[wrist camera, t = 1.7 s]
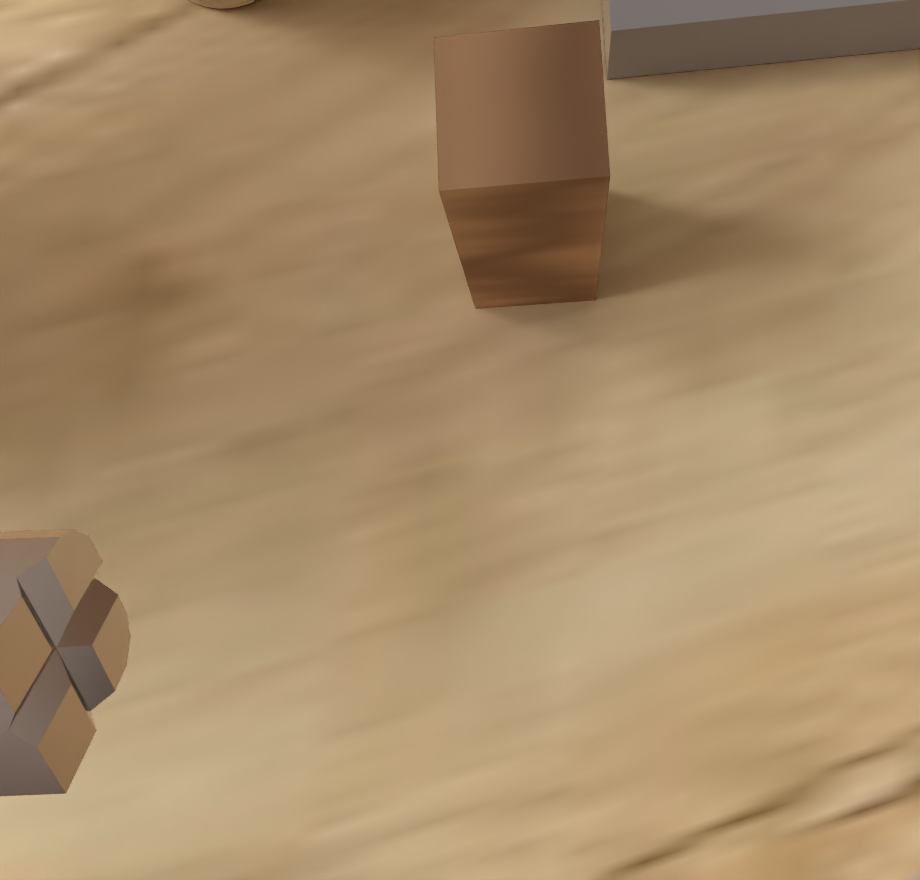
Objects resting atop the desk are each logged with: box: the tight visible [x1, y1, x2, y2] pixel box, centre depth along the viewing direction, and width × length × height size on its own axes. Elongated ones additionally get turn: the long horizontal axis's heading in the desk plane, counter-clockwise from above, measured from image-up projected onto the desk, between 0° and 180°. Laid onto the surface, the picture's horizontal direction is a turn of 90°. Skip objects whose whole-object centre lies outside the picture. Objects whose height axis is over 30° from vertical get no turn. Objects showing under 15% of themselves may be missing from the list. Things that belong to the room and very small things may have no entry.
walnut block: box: [434, 20, 610, 309], centre depth 28 cm, size 4×4×10 cm
